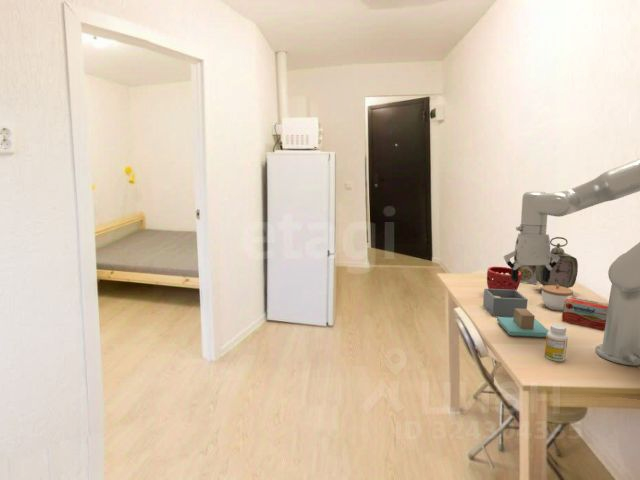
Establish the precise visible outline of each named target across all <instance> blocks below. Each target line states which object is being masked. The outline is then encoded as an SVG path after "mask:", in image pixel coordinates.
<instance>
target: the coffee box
mask: <svg viewBox="0 0 640 480" xmlns="http://www.w3.org/2000/svg"><path fill="white" fill-rule="evenodd" d="M517 270H518V271H520V272H521V279H520V283H523V282H527V283H526V284H531V283H532V285H537V283H538V281H537V279H536V274H535V273H536V265H520V266H519V267H518V268H517Z"/></svg>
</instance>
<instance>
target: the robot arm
mask: <svg viewBox="0 0 640 480" xmlns="http://www.w3.org/2000/svg"><path fill="white" fill-rule="evenodd" d="M638 192H640V158H637V159H635V160H632V161H630V162H627V163H624V164H622V165H620V166H617V167H614V168H611V169H609V170H607V171H604V172H602V173H600V175H599V176H597V177H595V178H594V179H591V180H589V181H587V182H585V183H582V184H580V185H577V186H575V187H572V188H569V189H566V190H563V191H558V192H557V191H556V192H545V191H526V192H524V193H523V195H522V199H521V216H520V218H521V220H520V224H519V226H516V227H515V229H516V231H517V232H518V231H519V233H518V234H517V237H516V241H515V245H514V251H511V252H509V253H507V254H505V255H504V256H503V259H504V260H505V263H506V265H507V266H508V268H511V278H512V280H513V281H515V282H517V281H518V270H517V268H518V267H519V266H520V265H543V266H544V268H543V273H542V280H543V281H545V282H548V279H550V270H552V268H553V267H554V266H555V265H556V263H557V262H558V260H559V259H560V257H559V256H557V255H555V254H553V253H551V244H550V241H551V239H550V235H549V234H548V233H547V223H548V216H551V217H556V218H557V217H560V218H561V217H564V216H565V217H566V216H567V215H568V216H569V215H571V214H573V213H577V212H580V211H582V210H585V209H587V208H591V207H593V206H596V205H599V204H602V203H606V202H611V201H615V200H619V199H621V198H624V197H628V196H630V195H632V194H636V193H638ZM550 257H552V258H553V260H552V261H551V262H550ZM511 258H513V260H514V261H513V262H511ZM607 274H608V279H609V282H610V283H611V287H610V292H609V297H608V298H609V299H608V310H607V317H606V324H605V331H603V340H602V343H600V344H598V345H596V346H595V353H596V354H597V355H598V356H600V357H601V358H603V359H605V360H608V361H611V362H613V363H616V364H620V365H624V366H632V367H633V366H634V367H635V366H636V367H638V366H639V365H640V241H639V242H638V243H636V244H635V245H634V246H633V247H631V248H630V249H629V250H627V251H626V252H624V253H622V254H621V255H619V256H618V257H617V258H616V259H615V260H614V261H613V262H612V263H611V264H610V266H609V268H608V273H607Z"/></svg>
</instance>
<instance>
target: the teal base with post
mask: <svg viewBox="0 0 640 480" xmlns="http://www.w3.org/2000/svg"><path fill="white" fill-rule="evenodd" d="M535 317H536V316H535V315H534V314H533V313H532V312H531V311H530V310H529V309H528V308H527V309H518V308H514V317H500V316H496V321H497V323H498V324H500V326H501V327H502V328H503V329H504V330H505V331H506V332H507V333H508V335H509V336H512V337H530V336H531V338H532V336H533V338H534V337H535V338H543V337H547V333H548V332H549V331H550V330H548V328H546V327H545V326H544V325H543V324H542V323H541V322H540V321H538V320H537V319H536V318H535Z"/></svg>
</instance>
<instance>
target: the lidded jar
mask: <svg viewBox="0 0 640 480" xmlns="http://www.w3.org/2000/svg"><path fill="white" fill-rule="evenodd" d="M541 290H542V293H541V300H542V302H543V304H544V305H545V306H546V308H547V309H549V310H553V311H563V306H564V302H565V300H566V299H567V298H568V297H569V296H570V297H573V293H574V291H573V290H572V289H571V288H566V287H562V286H559V285H556V286H555V285H546V286H543V285H542V287H541Z"/></svg>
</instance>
